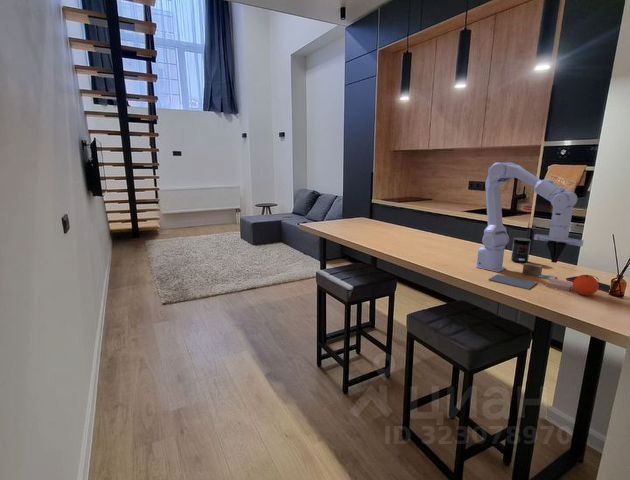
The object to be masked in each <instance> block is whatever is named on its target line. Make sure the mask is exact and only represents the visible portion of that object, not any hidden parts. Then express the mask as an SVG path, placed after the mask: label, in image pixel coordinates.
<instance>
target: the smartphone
mask: <svg viewBox="0 0 630 480" xmlns="http://www.w3.org/2000/svg"><path fill="white" fill-rule="evenodd" d="M578 276H579V275H577V276H570V277H566V278H565V281H568V282H574V280H575V278H577V277H578ZM598 284H599V288H598V290H597V291H601V292H604V293H610V292H609V290H610V286H611V285H609V284H605V283H603V282H600V281H598Z"/></svg>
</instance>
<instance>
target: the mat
mask: <svg viewBox="0 0 630 480" xmlns="http://www.w3.org/2000/svg"><path fill="white" fill-rule="evenodd" d="M487 280H488V281H490V282H493V283H494V282H495V283H498V284H502V285H507V286H512V287H516V288H521V289H524V290H528V291H529V290H531V289H532V288H533V287H535V286H536V285H538V283H537V282H535V281H531V280H526V279H522V278H516V277H512V276H507V275H503V274H495V275H494V276H492V277H490V278H488V279H487Z"/></svg>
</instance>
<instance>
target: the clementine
mask: <svg viewBox="0 0 630 480" xmlns="http://www.w3.org/2000/svg"><path fill="white" fill-rule="evenodd" d="M577 276H578V277H577V278H575V280H574V282H573V289H574V290H575V292H577V293H578V294H580V295H581V296H592V295H594V294H595V293H596V292H597V291H599V290H598V288H599V284H598V282H600V279H599V278H598V276H594V275H591V274H581V275H577Z"/></svg>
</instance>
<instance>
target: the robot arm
mask: <svg viewBox="0 0 630 480" xmlns="http://www.w3.org/2000/svg"><path fill="white" fill-rule="evenodd" d="M487 173H488V175H487V177H486V180H485V185H484V187H485V200H486V217H487V226H486V227H485V229H484V230H483V235H482V240H481V241H482V245H481V246H480V247H479V249H478V252H477V260H476V266H475V267H476V268H478V269H482V270H483V269H484V270H487V271H488V270H489V271H493V272H497V273H500V272H502V271H503V270H505V269H507V267H506V266H503V264H504V255H505V248H506V246H507V245H508V244H509V242H510V237H509V234H508V232H507V228H506V227H505V226H504V224H503V212H502V211H503V210H502V207H503V206H502V196H501V194H502V192H501V191H502V190H501V187H502V186H504V185H503V184H505V183H506V182H507V181H509V180H511V179H512V178H515V179H518V180H519V181H522V182H524V184H527V185H529V186H531V187H533V188H534V192H535V194H537V195H539V196H541V197H542V198H544V199H545V200H547V201H548V202H550V205H551V207H552V213H551V220H550V227H549V233H548V234H539V233H536V234H534V235H533V236H534V237H533V240H535V241H543V242H547V243H546V245H547V248H548V250H549V253H550V254H549V255H550V259H551V263H554V264H556V263H558V261H559V258H560V256H561V254H562V252H563V251H564V249H566V247H567V246H568V245H571V246H577V247H583V245H584V240H583V239H576V238H571V237H569V235H570V228H571V221H572V216H573V211H574V210H573V209H574V206H575V205H576V204H577V202H578V196H577V194H576V192H574V191H573V190H566V188H565V187H564V186H562V187H561V186H559V185H558V184H556V183H555V182H554V180H553V179H545V178H544V179H540V178H539V177H537V176H535V175H534V174H532V173H531V172H530V171H528V170H526V169H525V168H523V167H522V166H521V165H519V164H516V162H511V161H509V162H500V161H499V162H497V161H496V162H494V163H493V164H492V165H491V166H490V167H489V168H488V169H487Z"/></svg>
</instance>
